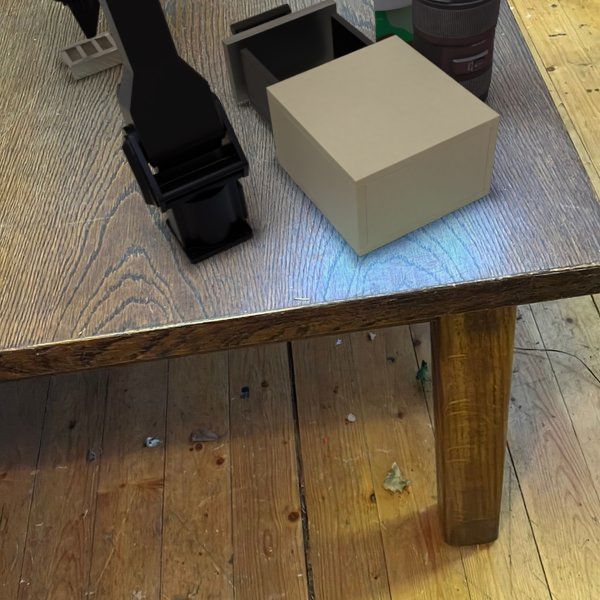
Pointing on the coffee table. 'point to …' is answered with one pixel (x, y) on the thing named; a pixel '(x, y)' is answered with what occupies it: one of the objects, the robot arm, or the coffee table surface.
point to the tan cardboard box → (383, 141)
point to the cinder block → (91, 55)
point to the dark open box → (285, 48)
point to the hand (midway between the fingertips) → (79, 20)
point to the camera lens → (458, 39)
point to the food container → (394, 20)
